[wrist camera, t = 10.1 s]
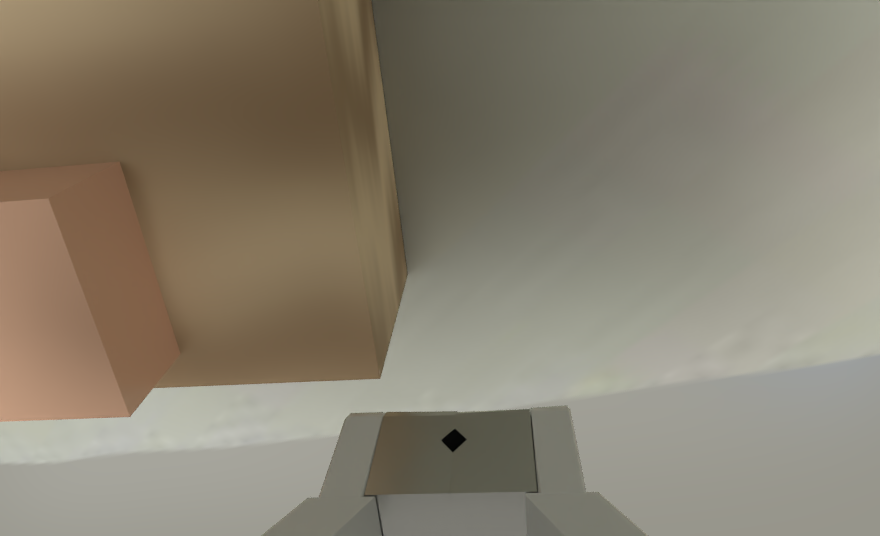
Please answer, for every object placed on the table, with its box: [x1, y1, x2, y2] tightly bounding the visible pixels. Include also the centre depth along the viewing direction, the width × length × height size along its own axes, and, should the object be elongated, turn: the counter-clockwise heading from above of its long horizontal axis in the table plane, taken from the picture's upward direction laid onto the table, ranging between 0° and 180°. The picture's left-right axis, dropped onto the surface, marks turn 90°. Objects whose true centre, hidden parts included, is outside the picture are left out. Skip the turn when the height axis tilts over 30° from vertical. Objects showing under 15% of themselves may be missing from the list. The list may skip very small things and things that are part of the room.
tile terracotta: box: [0, 162, 180, 422], centre depth 14 cm, size 5×5×2 cm
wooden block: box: [0, 0, 408, 388], centre depth 16 cm, size 14×11×6 cm
